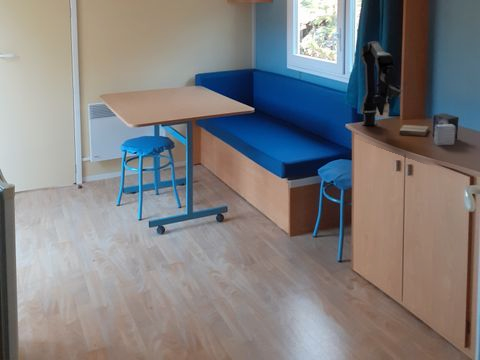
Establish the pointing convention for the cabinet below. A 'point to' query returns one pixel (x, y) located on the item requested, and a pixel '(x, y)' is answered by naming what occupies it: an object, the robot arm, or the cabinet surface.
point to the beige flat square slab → (413, 130)
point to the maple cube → (385, 112)
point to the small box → (445, 121)
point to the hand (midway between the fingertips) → (382, 114)
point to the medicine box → (444, 134)
